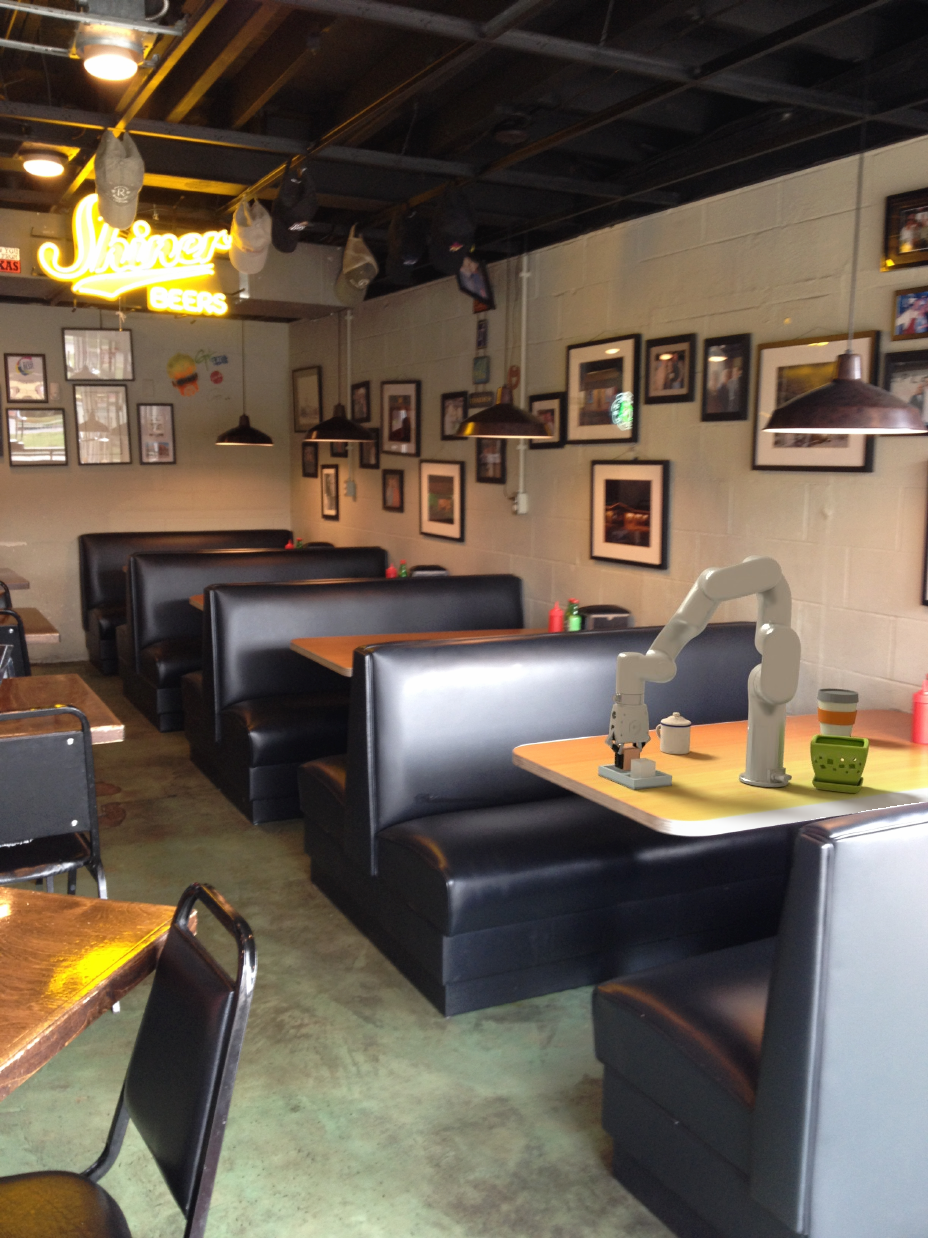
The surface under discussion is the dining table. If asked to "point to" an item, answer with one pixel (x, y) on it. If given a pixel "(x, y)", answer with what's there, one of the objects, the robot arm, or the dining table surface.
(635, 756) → the terracotta block
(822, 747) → the flower pot
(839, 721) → the reusable coffee cup
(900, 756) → the dining table surface
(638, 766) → the white block
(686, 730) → the teacup with lid
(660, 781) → the tray
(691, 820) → the dining table surface
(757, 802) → the dining table surface
